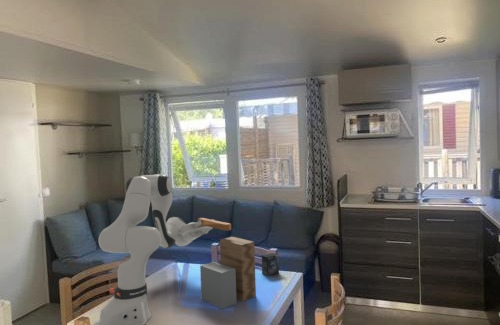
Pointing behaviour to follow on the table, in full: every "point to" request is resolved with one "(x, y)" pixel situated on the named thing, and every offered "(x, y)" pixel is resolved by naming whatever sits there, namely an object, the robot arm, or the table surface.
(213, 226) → the bar
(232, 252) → the tall plinth
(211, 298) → the low plinth
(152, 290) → the table surface
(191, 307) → the table surface
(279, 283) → the table surface
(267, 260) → the box
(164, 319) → the table surface
